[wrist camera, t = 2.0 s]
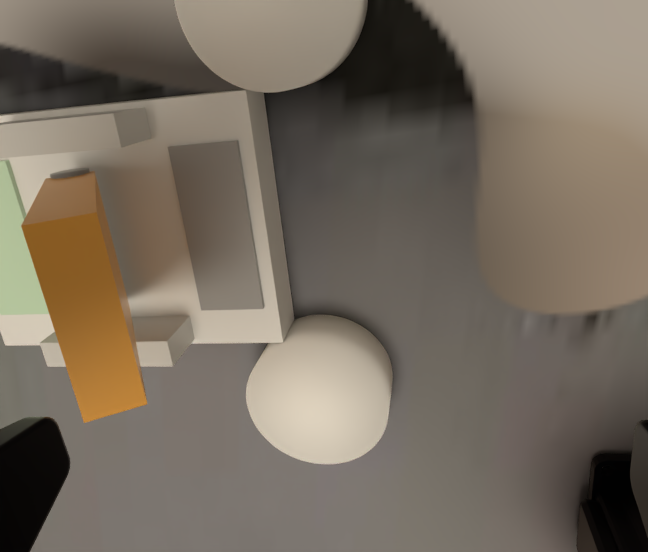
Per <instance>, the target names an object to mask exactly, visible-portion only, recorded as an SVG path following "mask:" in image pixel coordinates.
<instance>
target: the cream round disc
mask: <svg viewBox="0 0 648 552" xmlns="http://www.w3.org/2000/svg"><path fill="white" fill-rule="evenodd" d="M174 5H175V9H176V13H177V17H178V20H179V23H180V25H181V28H182V30H183V33H184V34H185V37H186V39H187V40H188V43H189V44H190V46H191V47H192V49H193V50H194V52H195V53H196V54H197V56H198V57H199V58H200V59H201V61H202V62H203V63H204V64H205V65H206V66H207V67H209V68H210V70H211V71H213V72H214V73H215V74H217V75H218V76H219V77H221V78H222V79H224V80H226V81H227V82H229V83H231V84H233V85H235V86H238V87H240V88H243V89H246V90H250V91H255V92H264V93H271V92H281V91H287V90H291V89H295V88H299V87H302V86H306V85H309V84H312V83H315V82H317V81H318V80H320V79H322V78H324V77H326V76H327V75H329V74H330V73H331V72H333V71H334V70H335V69H336V68H337V67H338V66H340V65H341V64H342V62H343V61H344V60H345V59H346V58H347V57H348V55H349V54H350V52H351V51H352V49H353V48H354V46H355V44H356V42H357V40H358V38H359V36H360V34H361V31H362V28H363V25H364V22H365V17H366V13H367V5H368V0H174Z"/></svg>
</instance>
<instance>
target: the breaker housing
mask: <svg viewBox="0 0 648 552" xmlns="http://www.w3.org/2000/svg"><path fill="white" fill-rule="evenodd" d="M76 168H89V171H90V172H91V171H95V175H96V179H97V183H98V186H99V190H100V194H101V198H102V202H103V206H104V210H105V213H106V217H107V221H108V225H109V229H110V233H111V237H112V241H113V244H114V248H115V252H116V256H117V260H118V264H119V268H120V272H121V275H122V279H123V283H124V287H125V291H126V295H127V299H128V302H129V306H130V312H131V317H132V323H133V328H134V334H135V339H136V345H137V350H138V356H139V361H140V366H174V365H175V363H176V362H177V361H178V359H179V358H180V357H181V356H182V354H183V353H184V352H185V351H186V349H187V348H188V347H189V346H190V344H196V343H283V342H284V340H285V337H286V335H287V333H288V331H289V329H290V327H291V325H292V323H293V321H294V312H293V304H292V297H291V290H290V282H289V275H288V268H287V260H286V253H285V246H284V238H283V231H282V224H281V216H280V209H279V201H278V194H277V187H276V179H275V172H274V165H273V157H272V150H271V143H270V135H269V128H268V121H267V113H266V106H265V99H264V92H255V91H250V90H246V89H238V90H229V91H219V92H209V93H200V94H190V95H181V96H171V97H162V98H152V99H143V100H133V101H124V102H114V103H105V104H95V105H85V106H76V107H66V108H57V109H47V110H38V111H28V112H19V113H9V114H0V332H1V335H2V337H3V340H4V343H5V345H41V348H42V351H43V354H44V357H45V360H46V363H47V366H48V367H66V365H65V361H64V358H63V355H62V352H61V349H60V346H59V343H58V340H57V336H56V333H55V330H54V327H53V324H52V321H51V318H50V315H49V312H48V308H47V305H46V302H45V299H44V296H43V293H42V290H41V287H40V283H39V280H38V277H37V274H36V271H35V268H34V265H33V262H32V258H31V255H30V252H29V249H28V246H27V243H26V240H25V237H24V234H23V230H22V227H21V225H22V223H23V221H24V219H25V217H26V215H27V213H28V211H29V209H30V208H31V206H32V204H33V202H34V200H35V198H36V196H37V194H38V192H39V190H40V188H41V186H42V184H43V182H44V181H45V179H46V178H50V174H52V173H55V172H59V171H63V170H69V169H76Z"/></svg>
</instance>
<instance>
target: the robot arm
mask: <svg viewBox="0 0 648 552" xmlns="http://www.w3.org/2000/svg"><path fill="white" fill-rule="evenodd" d="M607 465H609V466H610V467H608V468H605V469H604V468H602V467H604V466H607ZM69 469H70V457H69V454H68V451H67V449H66V446H65V443H64V440H63V437H62V435H61V432H60V429H59V426H58V424H57V422H56V421H55V420H54V419H52V418H50V417H27V418H24V419H21V420H19V421H17V422H15V423H13V424H11V425H8V426H6V427H4V428H2V429H0V552H30V550H31V548H32V546H33V544H34V542H35V540H36V538H37V536H38V534H39V532H40V530H41V528H42V526H43V524H44V522H45V520H46V518H47V516H48V514H49V512H50V510H51V508H52V506H53V504H54V502H55V500H56V498H57V496H58V494H59V492H60V490H61V488H62V486H63V484H64V482H65V480H66V478H67V475H68V473H69ZM577 550H578V552H648V420H641V421H640V422H638V423H637V425H636V427H635V432H634V441H633V449H632V454H600V455H598V456H596V457H595V458H594V459H593V461H592V463H591V473H590V483H589V493H588V499H584V501H583V502H582V503H581V504H580V513H579V524H578V535H577Z"/></svg>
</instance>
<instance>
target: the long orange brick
mask: <svg viewBox="0 0 648 552" xmlns="http://www.w3.org/2000/svg"><path fill="white" fill-rule="evenodd" d="M21 227H22V230H23V234H24V237H25V240H26V243H27V246H28V249H29V252H30V255H31V258H32V262H33V265H34V268H35V271H36V274H37V277H38V280H39V283H40V287H41V290H42V293H43V296H44V299H45V302H46V305H47V308H48V312H49V315H50V318H51V321H52V324H53V327H54V330H55V333H56V336H57V340H58V343H59V346H60V349H61V352H62V355H63V358H64V361H65V365H66V368H67V371H68V374H69V377H70V380H71V383H72V386H73V390H74V393H75V396H76V399H77V402H78V405H79V408H80V411H81V414H82V418H83V421H84V423H85V422H89V421H92V420H95V419H99V418H102V417H106V416H109V415H112V414H116V413H119V412H122V411H126V410H129V409H132V408H136V407H139V406H143V405H146V404H147V400H146V394H145V389H144V383H143V378H142V372H141V367H140V361H139V356H138V350H137V345H136V339H135V334H134V328H133V323H132V317H131V312H130V306H129V302H128V299H127V295H126V291H125V287H124V283H123V279H122V275H121V272H120V268H119V264H118V260H117V256H116V252H115V248H114V244H113V241H112V237H111V233H110V229H109V225H108V221H107V217H106V213H105V210H104V206H103V202H102V198H101V194H100V190H99V186H98V183H97V179H96V175H95V171H91V172H90V171H89V168H76V169H69V170H63V171H59V172H55V173H52V174H50V178H46V179H45V181H44V182H43V184H42V186H41V188H40V190H39V192H38V194H37V196H36V198H35V200H34V202H33V204H32V206H31V208H30V209H29V211H28V213H27V215H26V217H25V219H24V221H23V223H22V225H21Z"/></svg>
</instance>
